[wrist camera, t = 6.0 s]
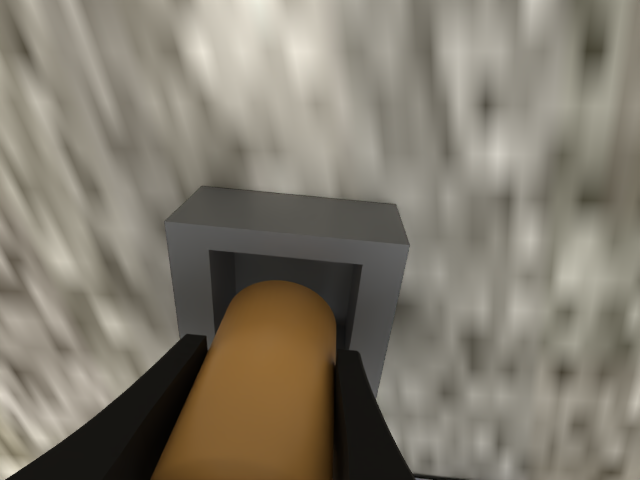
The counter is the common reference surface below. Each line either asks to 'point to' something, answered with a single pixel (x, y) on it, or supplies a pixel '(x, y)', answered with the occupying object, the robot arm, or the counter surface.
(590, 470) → the counter surface
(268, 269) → the housing
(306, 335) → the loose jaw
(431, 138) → the counter surface
